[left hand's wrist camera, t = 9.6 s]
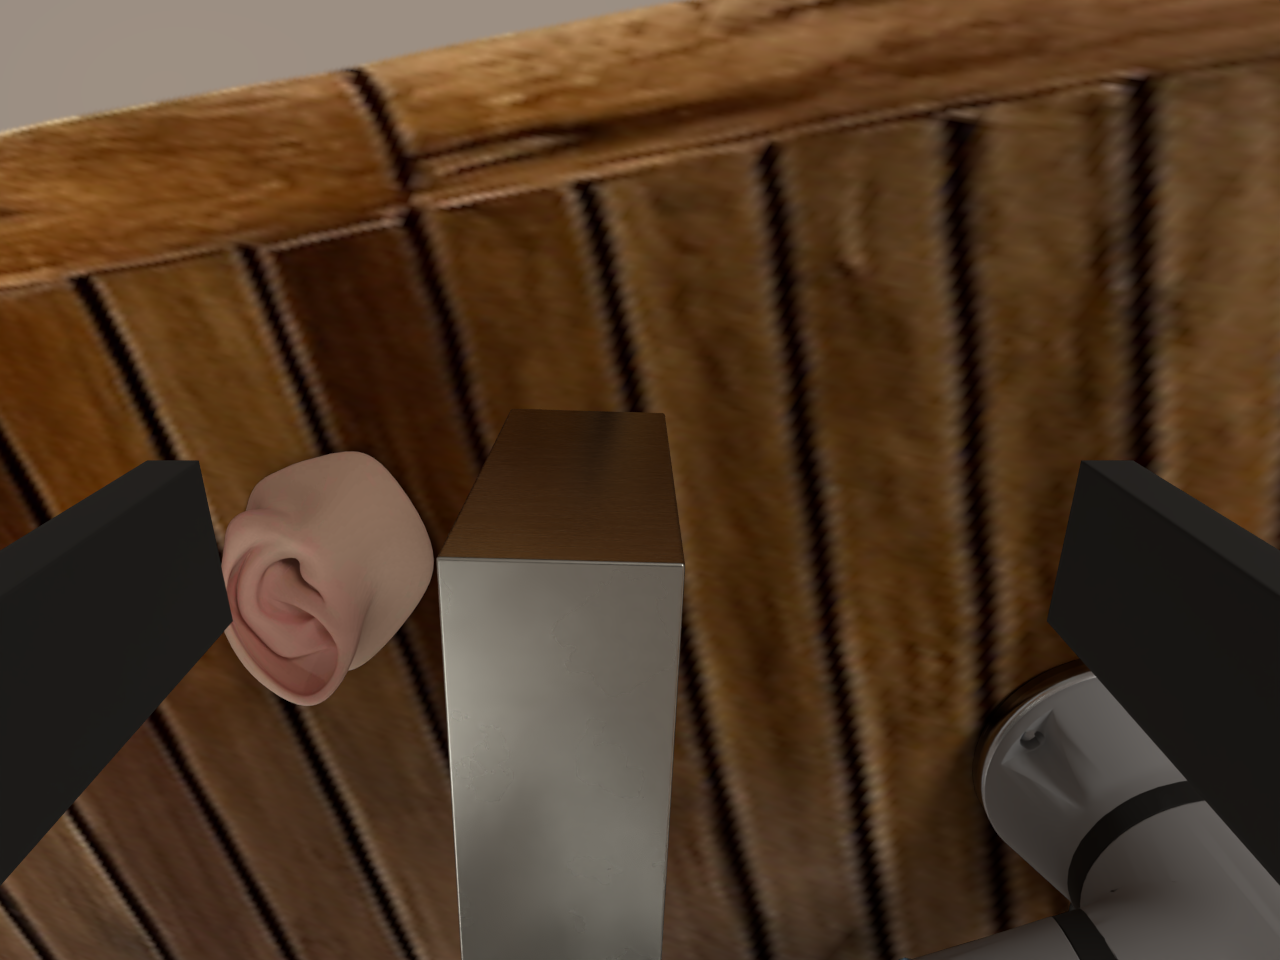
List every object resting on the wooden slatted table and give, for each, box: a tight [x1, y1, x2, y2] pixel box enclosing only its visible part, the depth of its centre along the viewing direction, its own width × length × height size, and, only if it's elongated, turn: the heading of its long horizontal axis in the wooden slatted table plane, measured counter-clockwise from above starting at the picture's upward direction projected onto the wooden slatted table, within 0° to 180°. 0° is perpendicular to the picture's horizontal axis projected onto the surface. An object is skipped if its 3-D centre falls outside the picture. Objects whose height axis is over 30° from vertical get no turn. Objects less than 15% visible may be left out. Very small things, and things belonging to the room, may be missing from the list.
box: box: [436, 409, 685, 960], centre depth 30 cm, size 27×6×13 cm, turn 178°
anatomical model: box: [221, 451, 434, 706], centre depth 44 cm, size 13×4×12 cm
